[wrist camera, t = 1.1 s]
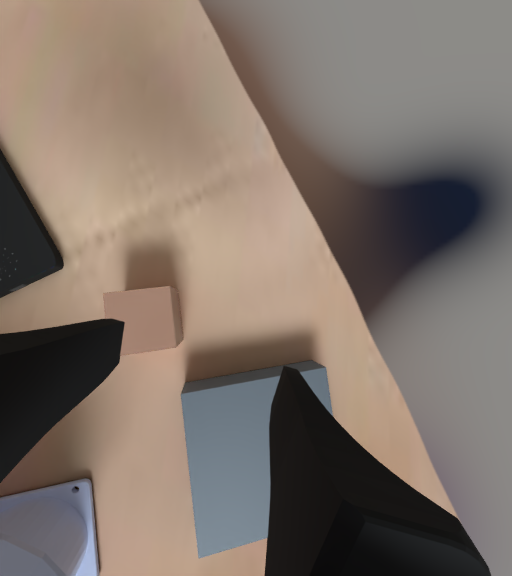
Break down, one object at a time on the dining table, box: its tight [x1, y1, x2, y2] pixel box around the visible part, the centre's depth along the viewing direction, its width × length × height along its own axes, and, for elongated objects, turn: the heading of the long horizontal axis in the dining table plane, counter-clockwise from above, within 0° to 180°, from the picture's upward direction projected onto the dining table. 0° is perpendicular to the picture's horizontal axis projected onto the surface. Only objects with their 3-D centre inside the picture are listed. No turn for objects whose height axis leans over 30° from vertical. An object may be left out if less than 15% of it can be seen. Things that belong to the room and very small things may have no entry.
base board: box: [181, 360, 333, 558], centre depth 21 cm, size 12×12×3 cm
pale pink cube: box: [103, 286, 183, 356], centre depth 20 cm, size 4×4×4 cm
